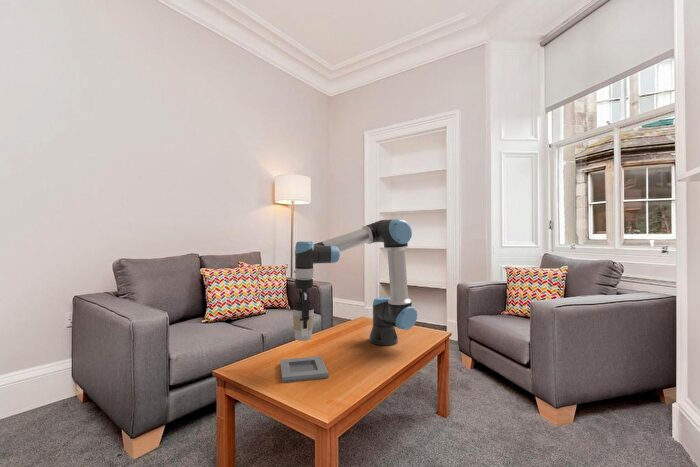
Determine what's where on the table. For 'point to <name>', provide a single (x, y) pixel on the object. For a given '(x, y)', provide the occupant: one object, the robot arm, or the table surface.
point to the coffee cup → (297, 323)
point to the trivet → (303, 369)
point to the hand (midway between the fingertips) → (303, 332)
